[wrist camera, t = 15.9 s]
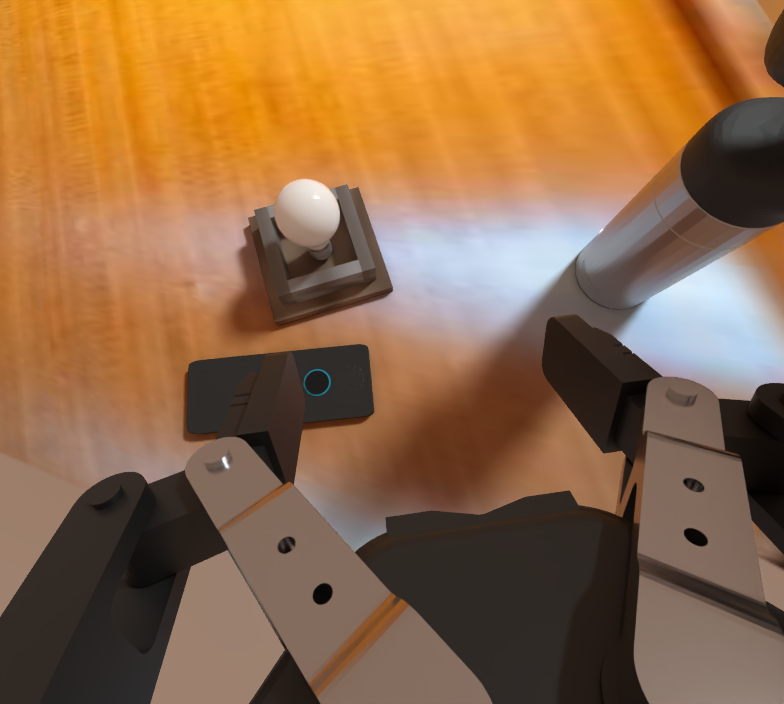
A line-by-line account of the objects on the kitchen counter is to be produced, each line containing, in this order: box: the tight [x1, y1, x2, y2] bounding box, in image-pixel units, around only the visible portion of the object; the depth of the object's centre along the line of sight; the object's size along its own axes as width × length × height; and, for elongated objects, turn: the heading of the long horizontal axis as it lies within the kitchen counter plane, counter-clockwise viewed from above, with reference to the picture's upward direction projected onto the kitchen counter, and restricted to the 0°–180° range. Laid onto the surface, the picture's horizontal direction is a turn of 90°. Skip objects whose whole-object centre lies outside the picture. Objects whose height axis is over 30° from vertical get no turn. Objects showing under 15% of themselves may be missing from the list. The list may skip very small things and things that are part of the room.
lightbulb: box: [274, 179, 340, 260], centre depth 40 cm, size 6×6×11 cm
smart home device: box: [187, 344, 374, 434], centre depth 42 cm, size 8×2×20 cm
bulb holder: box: [248, 185, 393, 325], centre depth 44 cm, size 14×14×4 cm
